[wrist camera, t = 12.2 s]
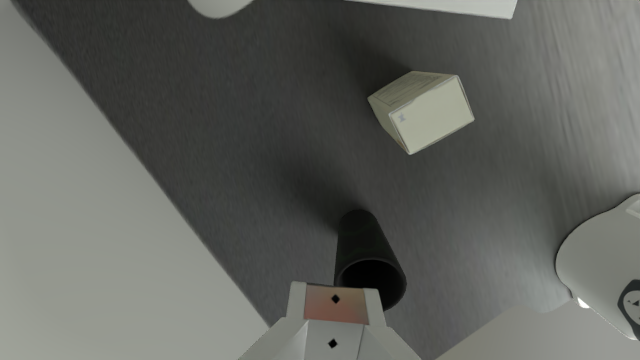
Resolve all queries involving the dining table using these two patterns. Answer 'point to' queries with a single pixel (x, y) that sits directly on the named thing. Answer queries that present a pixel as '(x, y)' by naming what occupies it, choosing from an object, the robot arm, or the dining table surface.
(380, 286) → the cup
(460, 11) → the board
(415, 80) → the skincare box
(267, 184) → the dining table surface
